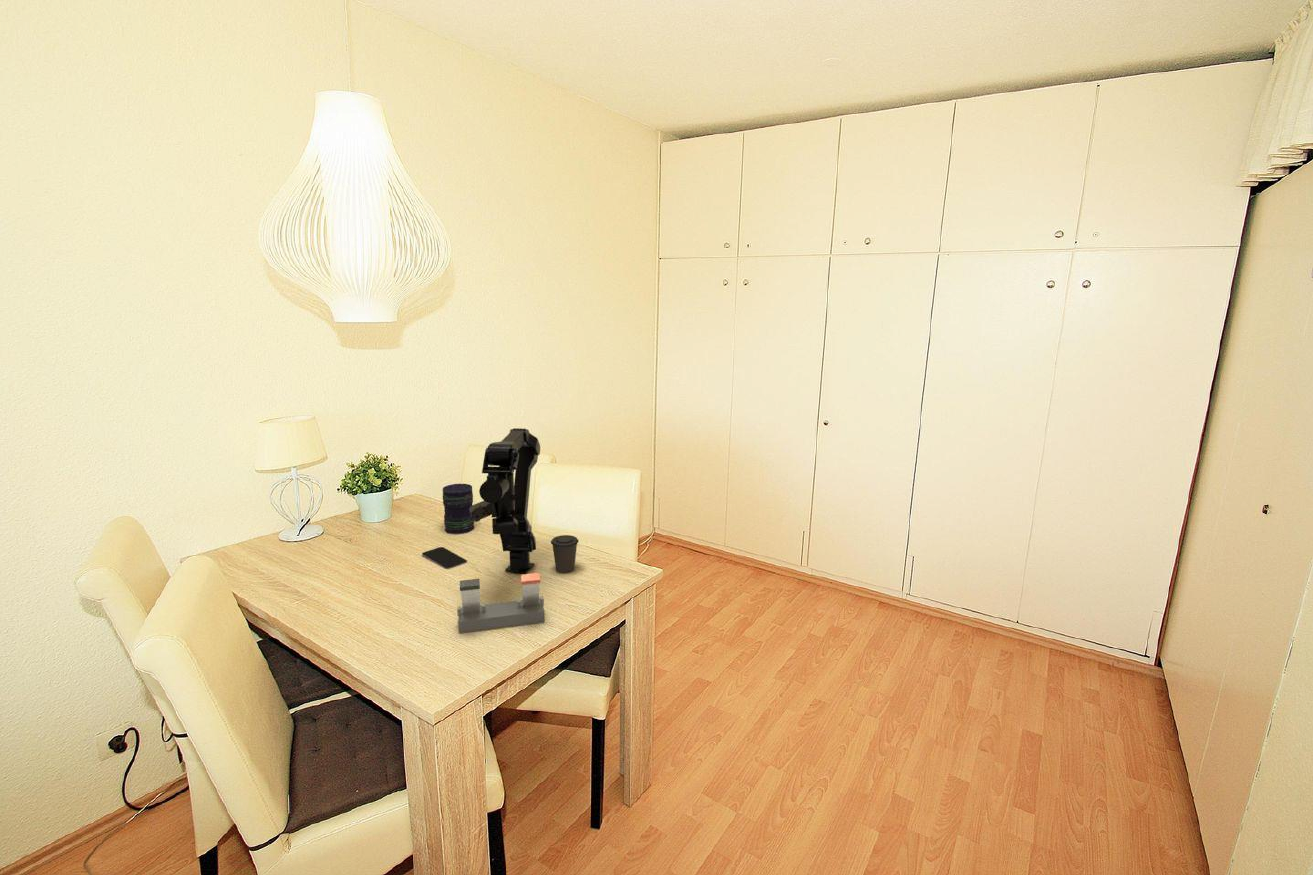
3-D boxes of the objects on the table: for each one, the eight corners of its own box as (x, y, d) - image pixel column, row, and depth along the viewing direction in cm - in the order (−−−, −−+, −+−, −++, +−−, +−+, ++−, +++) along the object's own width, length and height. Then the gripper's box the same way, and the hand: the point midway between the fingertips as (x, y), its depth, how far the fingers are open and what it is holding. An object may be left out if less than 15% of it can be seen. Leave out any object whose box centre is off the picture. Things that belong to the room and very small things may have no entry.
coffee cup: (545, 571, 171) (544, 539, 168) (562, 561, 178) (561, 530, 175) (568, 577, 167) (567, 545, 165) (584, 567, 174) (584, 535, 172)
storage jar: (480, 526, 204) (478, 485, 201) (461, 536, 195) (459, 493, 192) (458, 522, 208) (455, 482, 205) (438, 531, 199) (435, 489, 196)
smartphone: (446, 569, 170) (420, 553, 180) (446, 572, 171) (420, 556, 180) (468, 561, 176) (442, 546, 185) (468, 564, 176) (442, 549, 185)
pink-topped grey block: (521, 600, 145) (520, 574, 140) (539, 598, 146) (539, 572, 142) (521, 607, 143) (521, 581, 139) (539, 605, 144) (540, 579, 140)
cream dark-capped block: (462, 607, 141) (459, 580, 137) (480, 605, 142) (479, 578, 138) (461, 614, 139) (459, 587, 135) (481, 612, 140) (479, 585, 136)
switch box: (458, 618, 144) (457, 600, 143) (542, 608, 150) (542, 590, 149) (457, 633, 137) (456, 615, 136) (545, 621, 143) (544, 604, 142)
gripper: (470, 482, 158) (473, 536, 162) (470, 504, 141) (473, 564, 144) (513, 480, 162) (514, 532, 165) (517, 501, 144) (519, 559, 148)
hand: (505, 546), depth 155 cm, fingers closed
